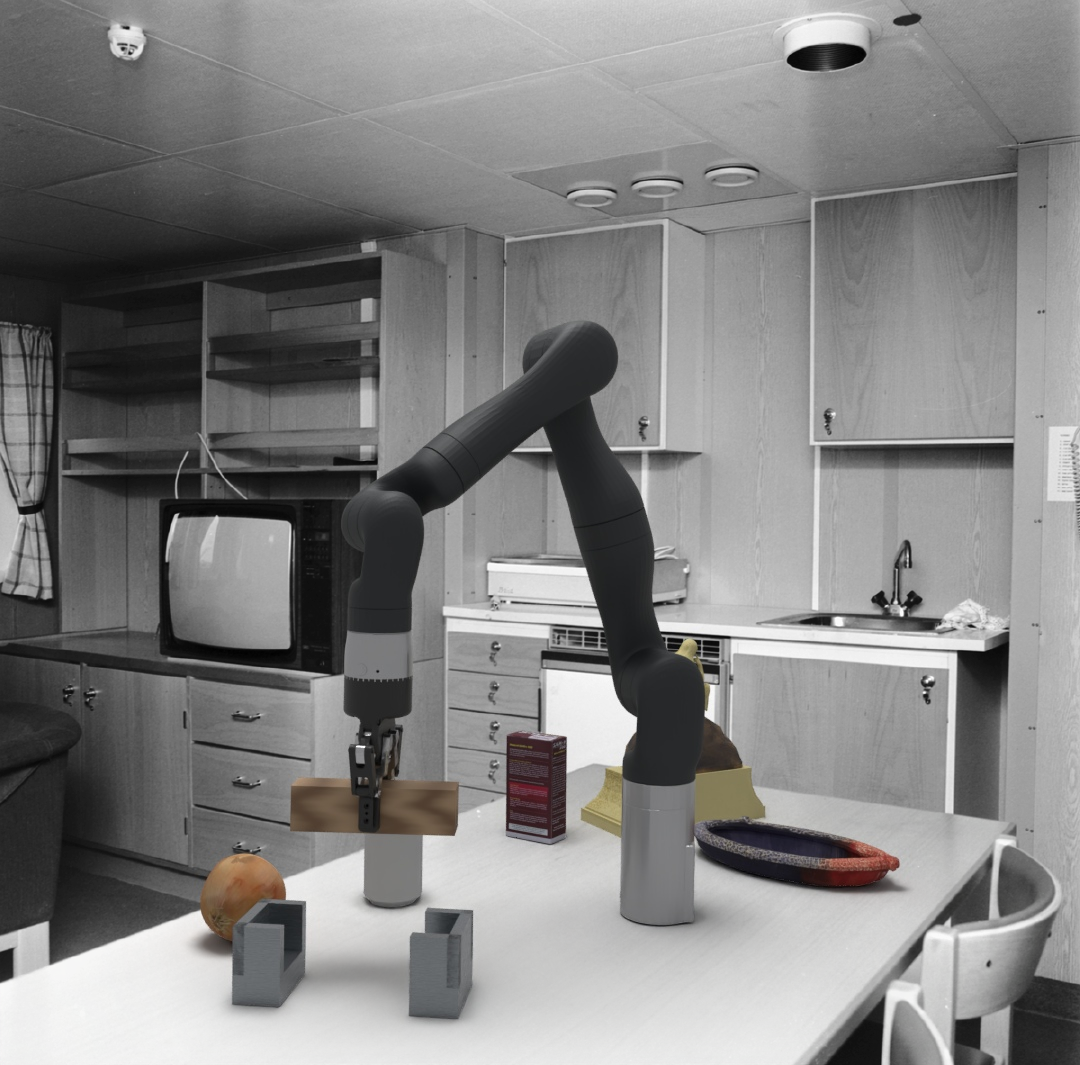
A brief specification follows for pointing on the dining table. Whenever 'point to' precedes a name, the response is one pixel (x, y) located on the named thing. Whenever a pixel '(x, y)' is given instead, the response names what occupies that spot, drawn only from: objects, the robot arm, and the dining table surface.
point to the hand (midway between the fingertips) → (375, 824)
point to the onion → (238, 891)
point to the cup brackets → (280, 952)
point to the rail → (400, 807)
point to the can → (392, 868)
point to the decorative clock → (716, 783)
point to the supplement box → (536, 786)
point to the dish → (793, 853)
